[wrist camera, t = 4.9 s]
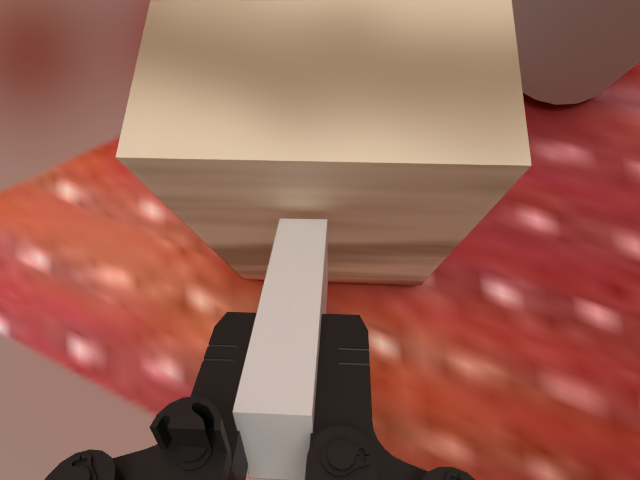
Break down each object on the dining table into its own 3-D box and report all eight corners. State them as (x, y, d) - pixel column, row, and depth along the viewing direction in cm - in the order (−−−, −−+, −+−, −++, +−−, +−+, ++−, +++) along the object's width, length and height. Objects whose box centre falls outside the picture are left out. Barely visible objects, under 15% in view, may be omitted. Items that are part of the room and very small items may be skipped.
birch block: (420, 285, 23) (531, 165, 10) (243, 278, 24) (115, 157, 10) (418, 202, 24) (511, -1, 11) (251, 198, 25) (150, 0, 12)
